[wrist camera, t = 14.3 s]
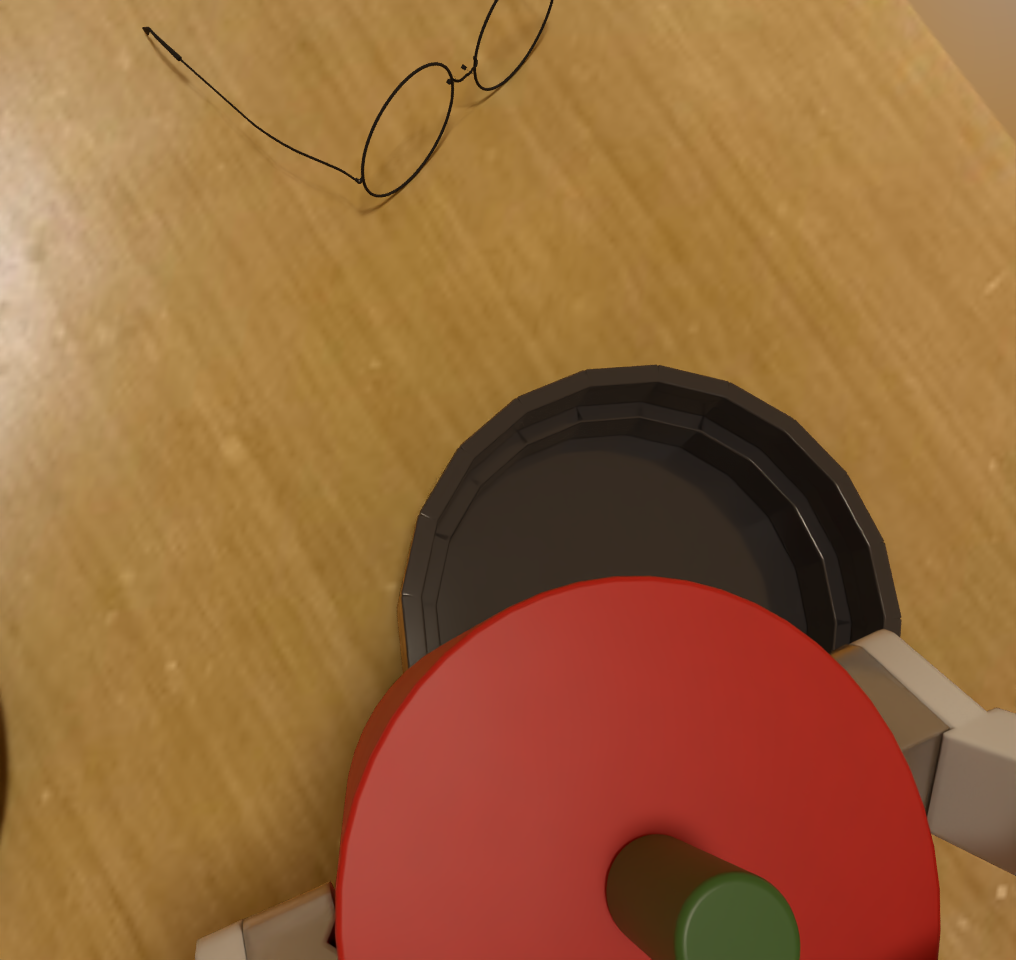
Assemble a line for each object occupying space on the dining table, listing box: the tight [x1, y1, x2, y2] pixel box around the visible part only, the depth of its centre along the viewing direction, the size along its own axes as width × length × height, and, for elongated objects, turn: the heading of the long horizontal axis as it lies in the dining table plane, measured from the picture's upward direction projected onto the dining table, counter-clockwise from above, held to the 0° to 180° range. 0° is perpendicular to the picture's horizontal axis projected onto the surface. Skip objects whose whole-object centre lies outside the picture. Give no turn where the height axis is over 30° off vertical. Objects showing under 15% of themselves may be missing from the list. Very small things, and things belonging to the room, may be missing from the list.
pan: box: [397, 365, 901, 674], centre depth 29 cm, size 15×15×4 cm
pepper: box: [335, 576, 940, 960], centre depth 11 cm, size 6×6×9 cm
